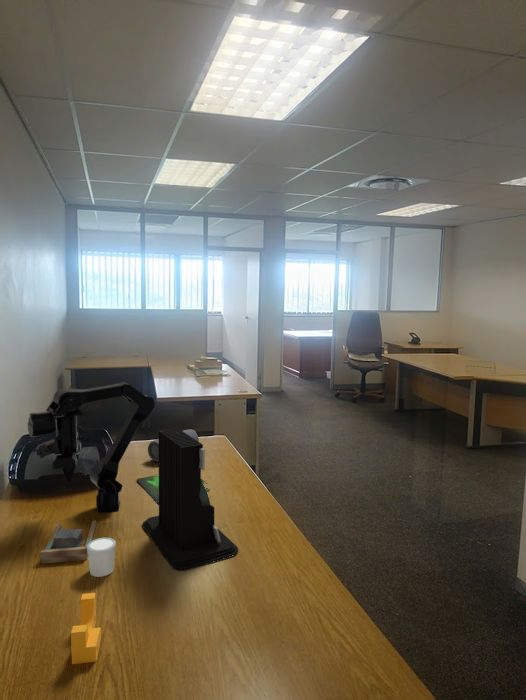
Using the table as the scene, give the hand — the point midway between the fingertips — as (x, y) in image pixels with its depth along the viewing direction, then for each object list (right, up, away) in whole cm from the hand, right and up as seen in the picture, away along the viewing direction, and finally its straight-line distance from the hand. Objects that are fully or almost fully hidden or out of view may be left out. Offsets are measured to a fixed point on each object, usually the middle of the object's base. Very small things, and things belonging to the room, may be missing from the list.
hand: (68, 481), depth 148 cm
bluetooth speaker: (+21, -6, +60) cm, 64 cm away
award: (+38, -14, -9) cm, 41 cm away
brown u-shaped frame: (+6, -14, -13) cm, 20 cm away
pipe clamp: (+25, -18, -51) cm, 59 cm away
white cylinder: (+19, -16, -26) cm, 36 cm away
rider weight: (+6, -14, -15) cm, 22 cm away
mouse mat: (+28, -10, +27) cm, 41 cm away
